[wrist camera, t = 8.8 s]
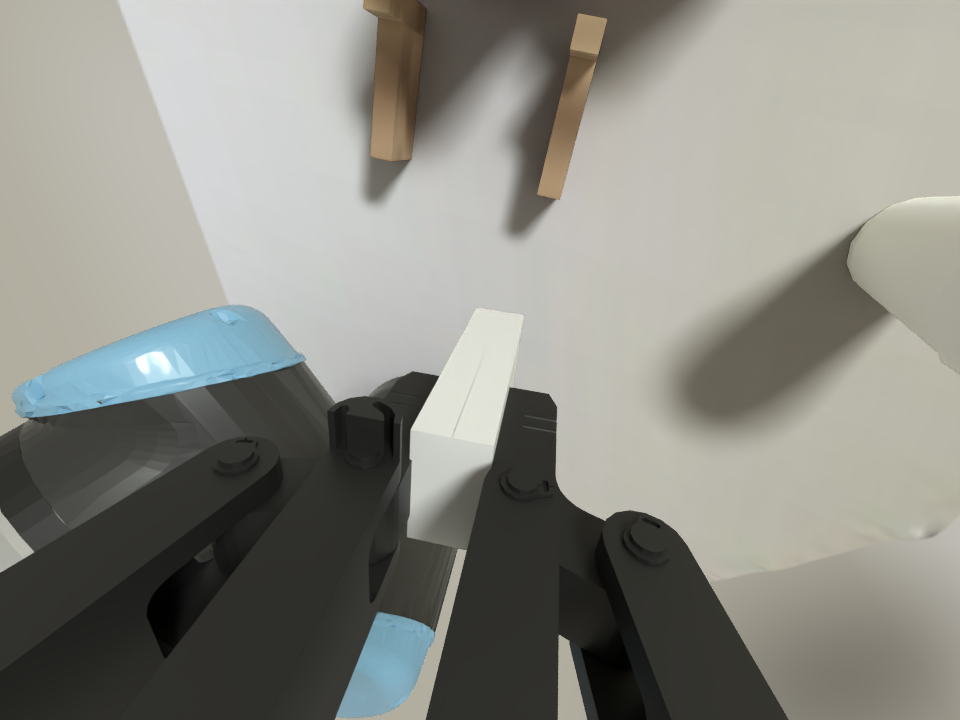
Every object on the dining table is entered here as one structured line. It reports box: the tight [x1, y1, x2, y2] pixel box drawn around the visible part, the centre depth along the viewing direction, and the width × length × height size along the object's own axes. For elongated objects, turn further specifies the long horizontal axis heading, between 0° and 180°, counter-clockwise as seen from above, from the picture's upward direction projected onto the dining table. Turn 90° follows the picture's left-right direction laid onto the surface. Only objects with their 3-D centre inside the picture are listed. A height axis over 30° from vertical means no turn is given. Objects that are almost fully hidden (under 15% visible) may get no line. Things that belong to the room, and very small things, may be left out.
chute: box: [363, 0, 607, 200], centre depth 27 cm, size 9×13×6 cm
